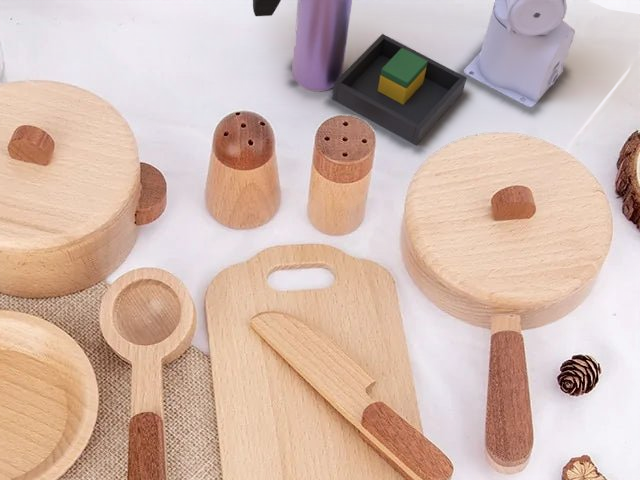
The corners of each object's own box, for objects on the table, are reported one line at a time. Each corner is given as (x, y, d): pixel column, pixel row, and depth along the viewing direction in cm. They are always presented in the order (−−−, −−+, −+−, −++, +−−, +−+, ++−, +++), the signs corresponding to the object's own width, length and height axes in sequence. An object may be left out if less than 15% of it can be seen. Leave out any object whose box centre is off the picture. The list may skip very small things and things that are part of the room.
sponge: (423, 83, 128) (428, 60, 125) (403, 105, 126) (407, 82, 123) (397, 69, 129) (402, 47, 126) (377, 91, 127) (381, 68, 124)
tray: (461, 96, 128) (466, 77, 125) (415, 148, 124) (419, 129, 121) (379, 52, 131) (382, 33, 128) (331, 101, 127) (333, 82, 124)
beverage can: (337, 98, 127) (351, -6, 114) (287, 90, 128) (295, -14, 115) (345, 62, 130) (359, -43, 117) (296, 54, 131) (305, -51, 118)
